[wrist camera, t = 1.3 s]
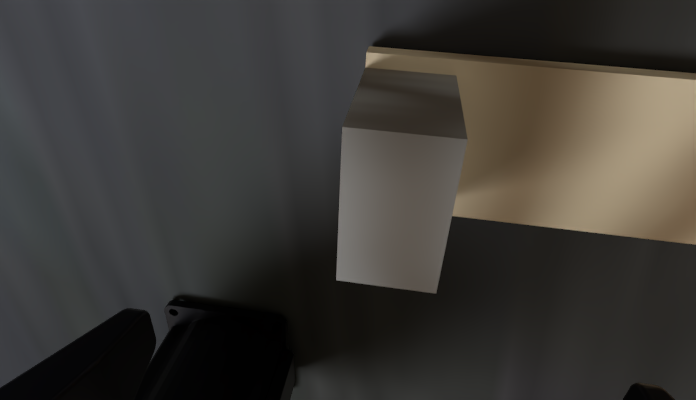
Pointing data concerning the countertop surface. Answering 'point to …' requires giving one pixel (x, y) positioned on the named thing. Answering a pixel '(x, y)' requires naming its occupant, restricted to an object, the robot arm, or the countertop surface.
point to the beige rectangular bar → (507, 156)
